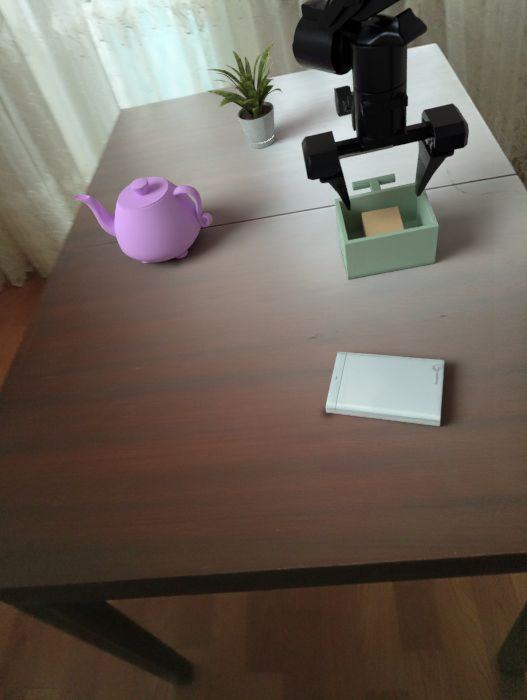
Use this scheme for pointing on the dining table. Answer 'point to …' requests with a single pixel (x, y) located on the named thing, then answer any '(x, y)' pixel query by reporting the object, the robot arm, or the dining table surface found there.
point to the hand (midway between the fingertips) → (383, 201)
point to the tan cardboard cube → (381, 221)
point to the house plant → (252, 100)
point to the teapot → (153, 219)
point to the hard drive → (387, 388)
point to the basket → (391, 247)
